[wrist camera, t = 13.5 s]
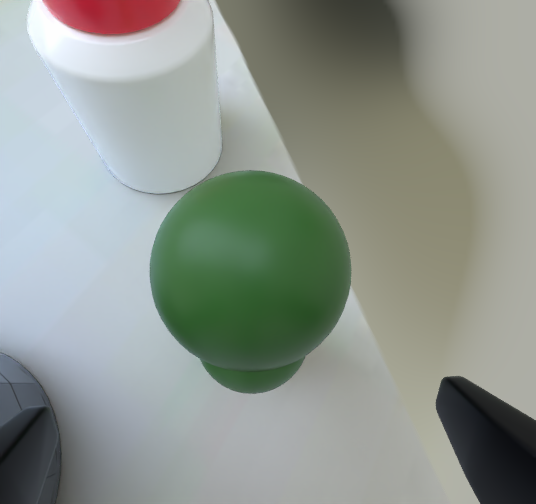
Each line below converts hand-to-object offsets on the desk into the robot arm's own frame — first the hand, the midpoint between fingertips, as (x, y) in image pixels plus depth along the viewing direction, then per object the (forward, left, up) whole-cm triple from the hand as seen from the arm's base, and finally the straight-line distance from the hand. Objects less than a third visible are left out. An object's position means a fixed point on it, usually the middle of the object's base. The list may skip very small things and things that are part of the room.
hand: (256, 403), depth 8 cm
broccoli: (+3, 0, -10) cm, 11 cm away
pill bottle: (+15, +6, -10) cm, 19 cm away
